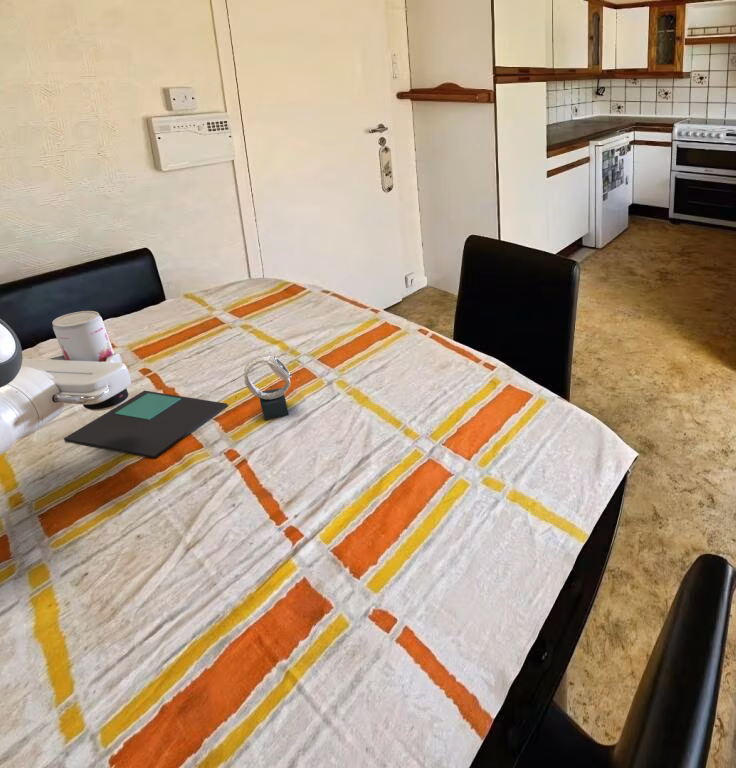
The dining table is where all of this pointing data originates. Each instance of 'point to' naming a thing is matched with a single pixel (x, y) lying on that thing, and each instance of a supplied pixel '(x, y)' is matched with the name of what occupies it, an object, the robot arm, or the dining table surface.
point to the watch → (271, 399)
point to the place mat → (147, 427)
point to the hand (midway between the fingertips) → (94, 356)
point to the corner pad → (148, 406)
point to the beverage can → (86, 346)
